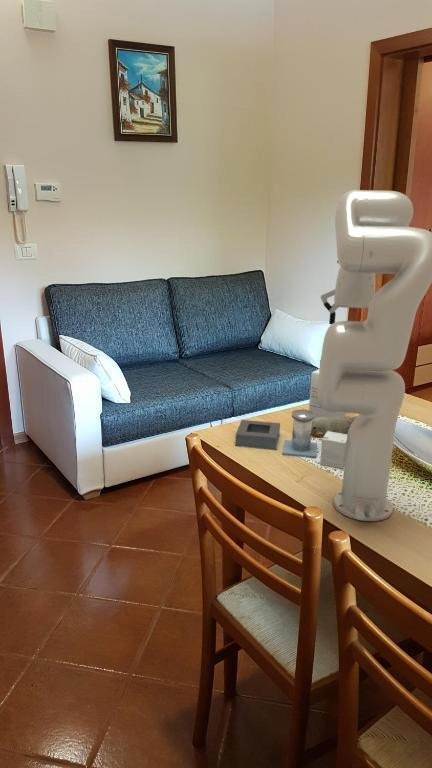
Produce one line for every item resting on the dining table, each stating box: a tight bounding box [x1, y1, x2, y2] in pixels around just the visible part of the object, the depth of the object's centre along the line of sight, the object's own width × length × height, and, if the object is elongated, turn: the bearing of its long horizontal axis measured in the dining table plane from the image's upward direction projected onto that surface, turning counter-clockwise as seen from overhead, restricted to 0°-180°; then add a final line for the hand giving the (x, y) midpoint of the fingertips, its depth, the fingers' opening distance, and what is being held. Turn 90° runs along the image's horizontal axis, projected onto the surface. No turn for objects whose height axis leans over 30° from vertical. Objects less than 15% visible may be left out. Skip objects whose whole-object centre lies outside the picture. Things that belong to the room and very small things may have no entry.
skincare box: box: [319, 431, 347, 470], centre depth 144 cm, size 6×6×7 cm
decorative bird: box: [311, 415, 358, 436], centre depth 160 cm, size 5×16×8 cm, turn 78°
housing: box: [234, 419, 281, 451], centre depth 158 cm, size 11×11×4 cm
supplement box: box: [308, 368, 346, 419], centre depth 175 cm, size 9×9×15 cm
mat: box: [281, 439, 318, 459], centre depth 152 cm, size 9×9×1 cm
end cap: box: [291, 408, 315, 452], centre depth 151 cm, size 6×6×10 cm
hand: (351, 328), depth 150 cm, fingers open, 9 cm apart
